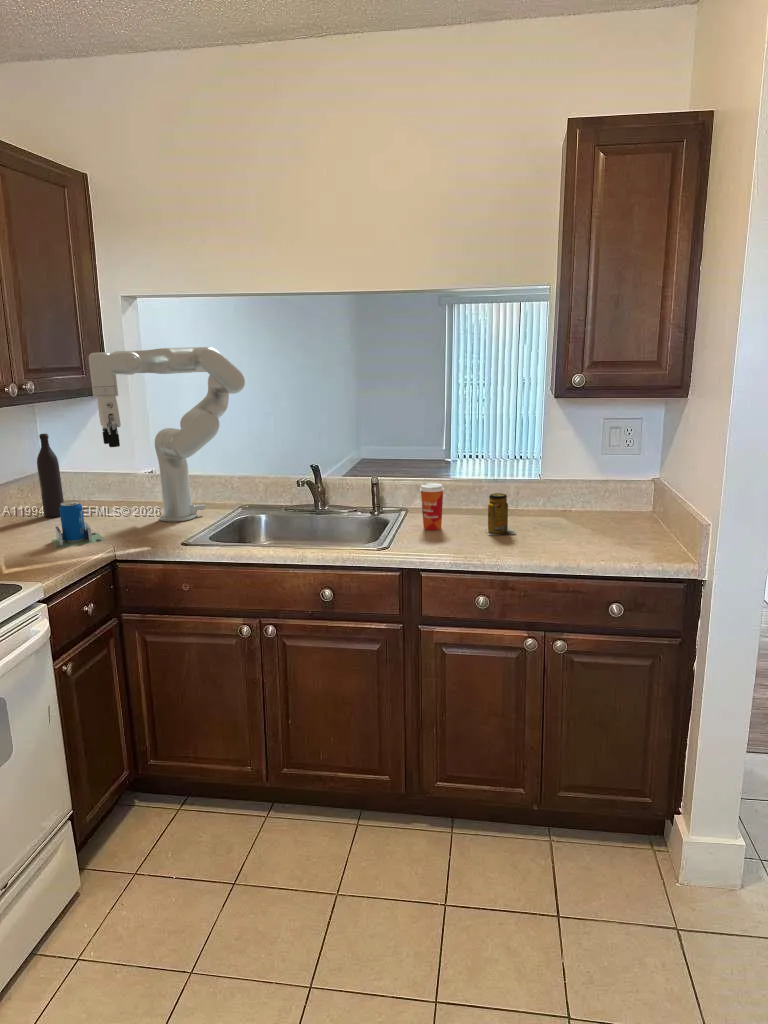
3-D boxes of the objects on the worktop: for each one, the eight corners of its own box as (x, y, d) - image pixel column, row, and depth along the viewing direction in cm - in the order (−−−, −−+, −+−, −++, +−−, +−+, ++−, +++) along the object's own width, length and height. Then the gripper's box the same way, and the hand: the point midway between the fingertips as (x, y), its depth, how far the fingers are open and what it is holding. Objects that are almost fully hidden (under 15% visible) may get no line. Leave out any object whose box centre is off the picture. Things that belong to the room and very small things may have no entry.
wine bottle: (59, 512, 265) (47, 432, 258) (69, 514, 261) (58, 433, 254) (40, 516, 260) (28, 434, 253) (51, 519, 256) (39, 435, 249)
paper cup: (415, 528, 227) (414, 485, 224) (430, 523, 233) (430, 481, 230) (434, 532, 222) (434, 488, 219) (449, 527, 228) (449, 484, 224)
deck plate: (98, 535, 231) (98, 531, 231) (105, 543, 221) (104, 539, 221) (51, 542, 224) (51, 538, 224) (56, 551, 214) (55, 547, 214)
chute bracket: (87, 535, 228) (86, 521, 227) (92, 541, 220) (90, 527, 219) (56, 540, 223) (54, 526, 222) (60, 546, 216) (58, 532, 215)
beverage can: (77, 544, 218) (72, 505, 215) (59, 542, 220) (54, 505, 217) (90, 538, 224) (86, 501, 221) (73, 537, 226) (68, 500, 223)
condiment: (485, 529, 224) (485, 492, 221) (512, 529, 224) (512, 491, 221) (488, 535, 217) (488, 497, 214) (516, 535, 217) (517, 496, 214)
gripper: (122, 392, 222) (129, 447, 226) (112, 390, 237) (118, 441, 241) (97, 394, 219) (104, 449, 223) (88, 391, 233) (95, 443, 237)
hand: (111, 445), depth 232 cm, fingers open, 9 cm apart
